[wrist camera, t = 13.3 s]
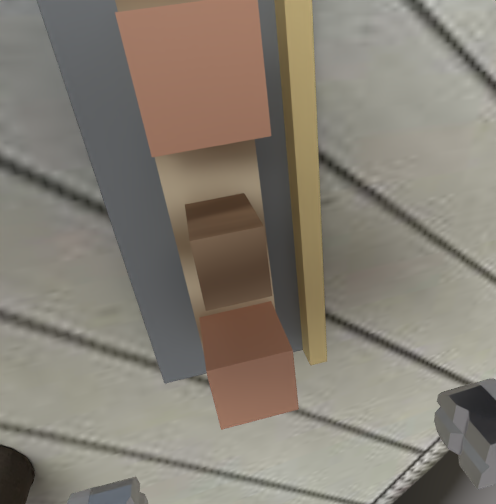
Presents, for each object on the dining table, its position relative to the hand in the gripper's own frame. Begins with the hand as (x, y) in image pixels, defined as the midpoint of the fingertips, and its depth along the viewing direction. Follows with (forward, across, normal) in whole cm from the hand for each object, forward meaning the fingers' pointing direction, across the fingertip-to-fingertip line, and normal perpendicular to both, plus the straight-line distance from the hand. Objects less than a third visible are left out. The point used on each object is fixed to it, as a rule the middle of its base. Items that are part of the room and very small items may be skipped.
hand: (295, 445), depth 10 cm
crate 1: (+15, 0, -8) cm, 17 cm away
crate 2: (+15, 0, +9) cm, 17 cm away
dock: (+22, 0, 0) cm, 22 cm away
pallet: (+19, 0, 0) cm, 19 cm away
